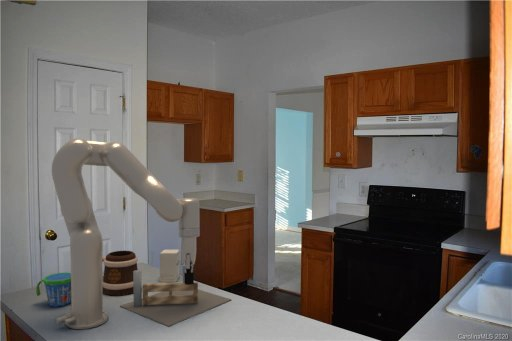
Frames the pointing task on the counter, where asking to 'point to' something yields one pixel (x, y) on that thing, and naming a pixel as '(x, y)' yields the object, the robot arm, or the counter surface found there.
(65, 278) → the snack cup
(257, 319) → the counter surface
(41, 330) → the counter surface
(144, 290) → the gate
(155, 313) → the taupe mat
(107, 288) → the mug
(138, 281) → the gate frame
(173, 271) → the supplement box
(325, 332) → the counter surface
